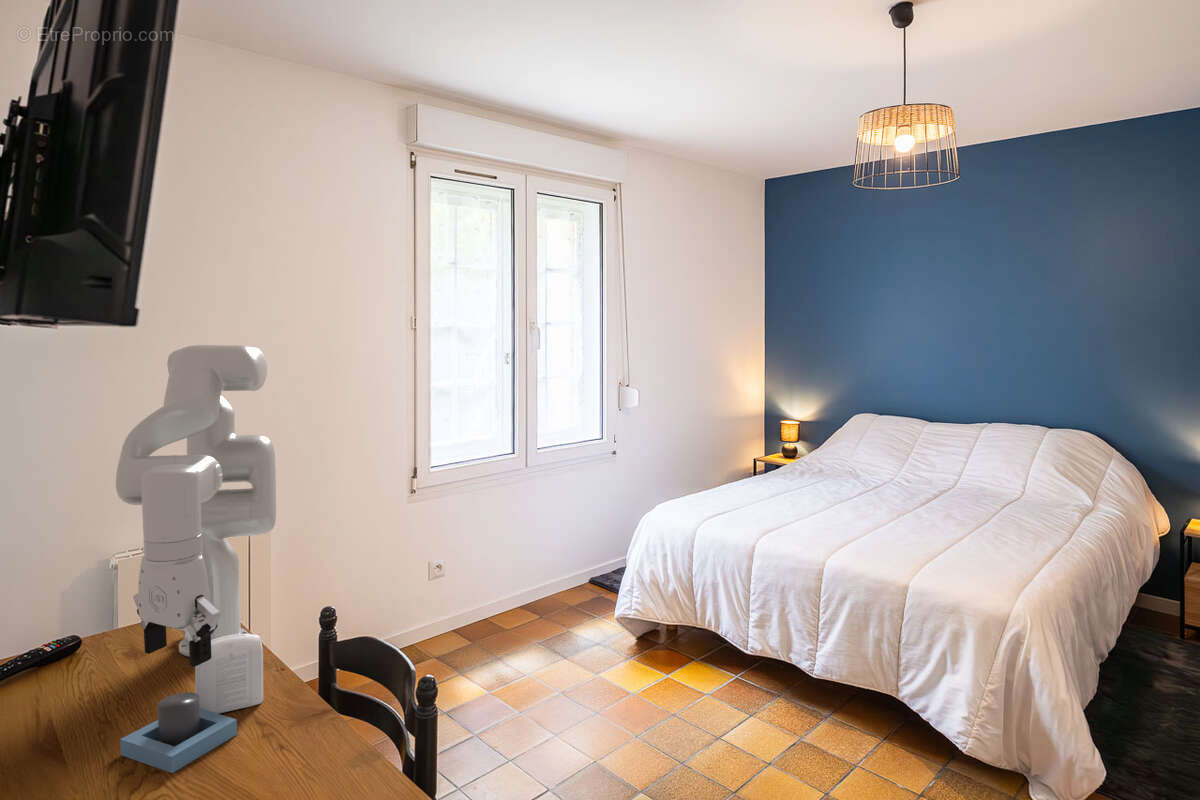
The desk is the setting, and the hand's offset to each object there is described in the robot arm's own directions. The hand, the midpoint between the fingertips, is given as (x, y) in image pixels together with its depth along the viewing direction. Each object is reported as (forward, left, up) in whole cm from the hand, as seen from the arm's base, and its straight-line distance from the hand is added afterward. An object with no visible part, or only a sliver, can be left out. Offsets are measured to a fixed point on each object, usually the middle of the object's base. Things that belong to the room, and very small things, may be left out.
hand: (178, 656), depth 110 cm
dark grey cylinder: (0, 0, -14) cm, 14 cm away
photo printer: (-2, +11, -14) cm, 18 cm away
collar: (0, 0, -14) cm, 14 cm away
